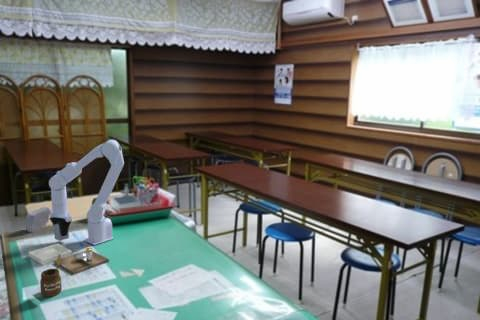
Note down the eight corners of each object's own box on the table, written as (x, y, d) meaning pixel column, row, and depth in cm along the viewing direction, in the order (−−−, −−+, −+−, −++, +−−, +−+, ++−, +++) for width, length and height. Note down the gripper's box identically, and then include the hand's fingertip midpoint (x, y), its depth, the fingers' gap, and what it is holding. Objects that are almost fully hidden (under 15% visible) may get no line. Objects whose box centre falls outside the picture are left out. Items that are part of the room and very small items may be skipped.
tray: (57, 248, 152) (57, 243, 152) (71, 255, 145) (71, 250, 145) (29, 256, 143) (28, 252, 143) (42, 265, 137) (42, 260, 136)
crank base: (89, 251, 149) (88, 249, 149) (109, 261, 141) (108, 258, 141) (54, 263, 139) (54, 260, 138) (73, 274, 130) (73, 271, 130)
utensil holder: (38, 292, 118) (35, 256, 116) (59, 285, 123) (56, 251, 121) (44, 299, 114) (41, 263, 112) (65, 292, 118) (63, 257, 116)
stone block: (34, 235, 165) (32, 213, 164) (25, 234, 166) (23, 212, 164) (52, 226, 177) (51, 206, 175) (43, 225, 178) (42, 205, 176)
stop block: (64, 235, 159) (63, 222, 158) (68, 238, 157) (68, 224, 156) (54, 238, 156) (53, 224, 155) (59, 240, 154) (58, 227, 153)
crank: (74, 259, 139) (73, 245, 138) (83, 256, 142) (82, 242, 141) (86, 266, 134) (85, 251, 133) (95, 262, 137) (94, 248, 136)
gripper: (41, 201, 155) (43, 232, 157) (58, 208, 146) (60, 241, 149) (58, 198, 161) (60, 228, 163) (75, 204, 152) (77, 236, 154)
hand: (61, 234), depth 156 cm, fingers closed on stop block, 4 cm apart
